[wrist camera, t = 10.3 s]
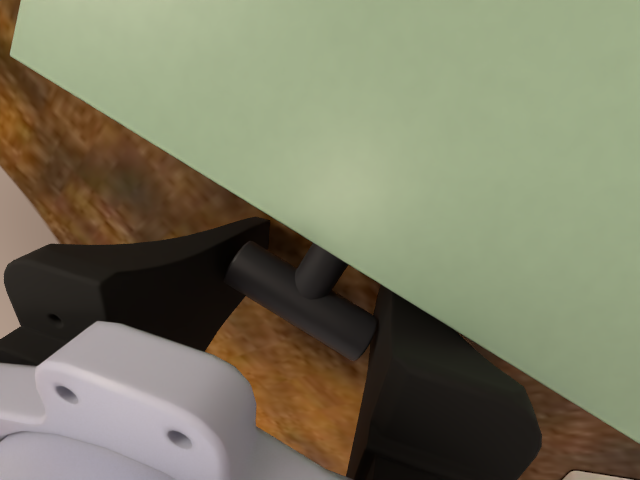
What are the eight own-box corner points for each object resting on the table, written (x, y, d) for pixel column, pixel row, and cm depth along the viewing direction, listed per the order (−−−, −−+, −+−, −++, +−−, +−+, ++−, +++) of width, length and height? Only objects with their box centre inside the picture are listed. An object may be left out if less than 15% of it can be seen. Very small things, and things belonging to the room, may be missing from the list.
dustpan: (1072, 166, 4) (749, 158, 8) (107, -428, 4) (232, -161, 8) (537, 554, 7) (483, 418, 11) (-24, 208, 7) (110, 188, 11)
